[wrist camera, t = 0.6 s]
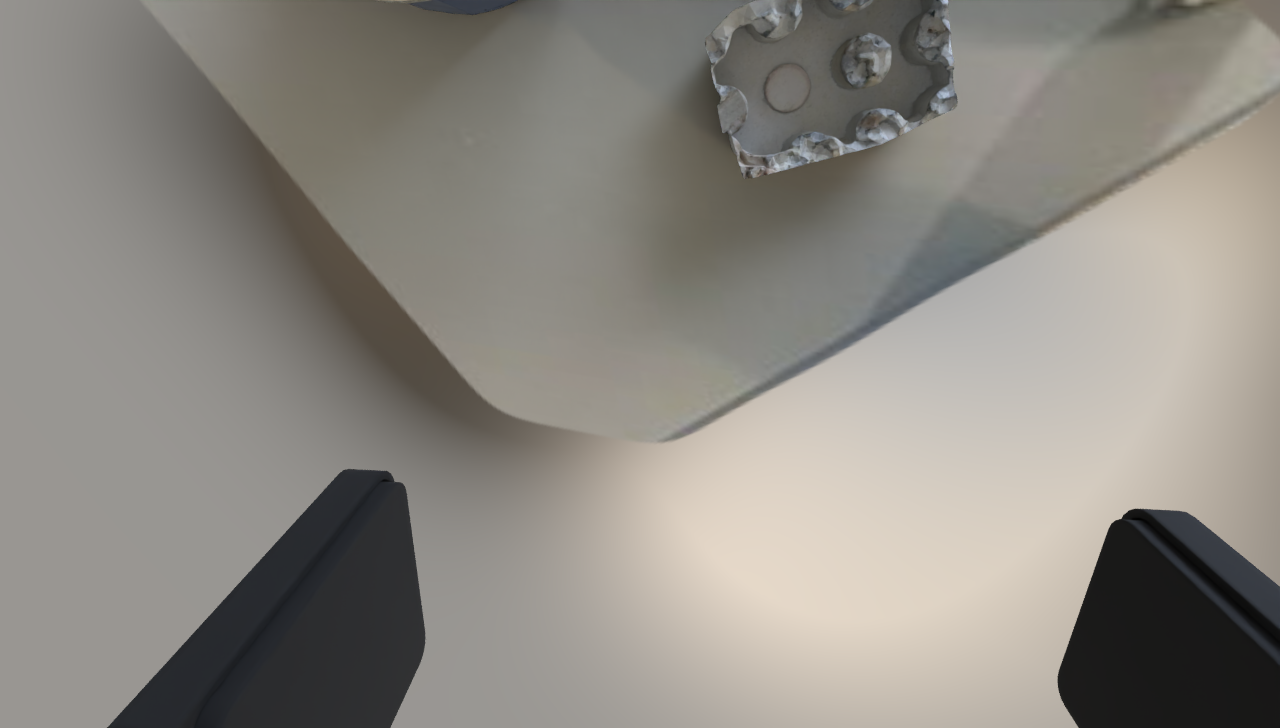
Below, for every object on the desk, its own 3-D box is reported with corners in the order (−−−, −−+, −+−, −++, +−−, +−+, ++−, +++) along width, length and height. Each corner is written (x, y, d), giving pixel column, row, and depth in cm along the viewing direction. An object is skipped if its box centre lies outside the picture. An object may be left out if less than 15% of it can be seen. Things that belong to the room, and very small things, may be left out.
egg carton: (730, 178, 35) (736, 188, 31) (697, 24, 32) (699, 14, 28) (939, 122, 33) (972, 125, 29) (922, -45, 30) (956, -65, 27)
